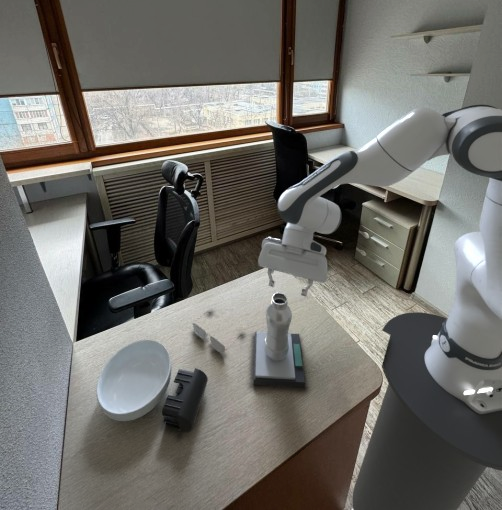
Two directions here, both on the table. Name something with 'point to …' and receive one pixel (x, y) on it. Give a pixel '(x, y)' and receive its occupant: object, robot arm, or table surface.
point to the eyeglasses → (214, 342)
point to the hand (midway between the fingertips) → (287, 291)
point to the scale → (278, 364)
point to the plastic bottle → (277, 328)
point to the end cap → (185, 400)
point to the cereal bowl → (134, 380)
